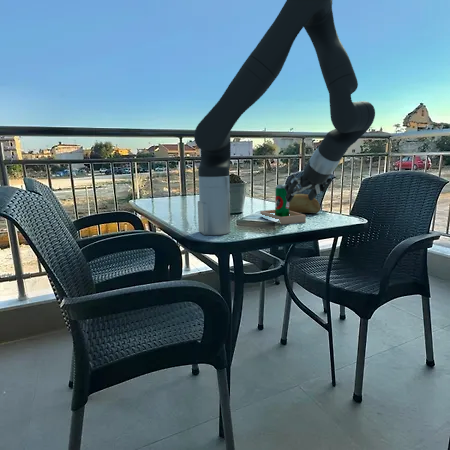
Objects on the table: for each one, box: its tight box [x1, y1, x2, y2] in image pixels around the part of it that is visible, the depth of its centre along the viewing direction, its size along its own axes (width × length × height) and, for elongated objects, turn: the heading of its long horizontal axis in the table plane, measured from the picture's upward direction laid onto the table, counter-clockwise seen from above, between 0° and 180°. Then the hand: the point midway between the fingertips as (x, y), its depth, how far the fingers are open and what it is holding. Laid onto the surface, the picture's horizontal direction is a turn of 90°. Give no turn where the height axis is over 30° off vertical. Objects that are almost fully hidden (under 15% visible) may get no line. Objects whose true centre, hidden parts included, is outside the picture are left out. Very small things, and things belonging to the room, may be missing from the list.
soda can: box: [274, 184, 290, 217], centre depth 116 cm, size 5×5×12 cm
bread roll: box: [289, 193, 321, 214], centre depth 128 cm, size 10×15×8 cm, turn 82°
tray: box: [259, 209, 307, 225], centre depth 117 cm, size 10×15×2 cm, turn 21°
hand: (298, 199), depth 106 cm, fingers open, 8 cm apart
